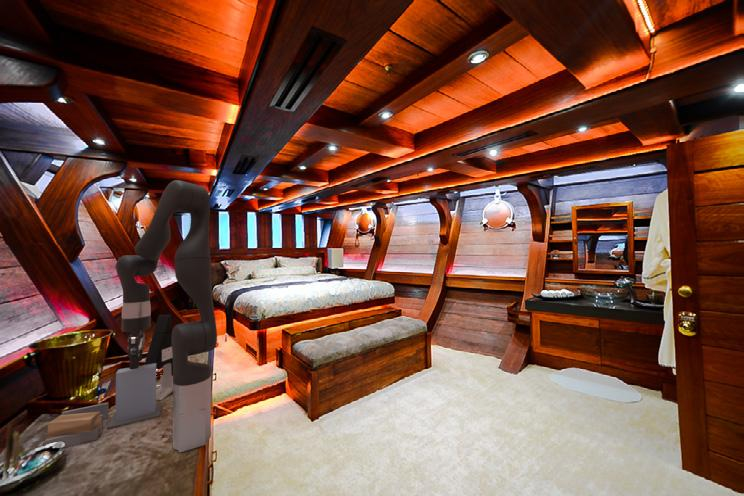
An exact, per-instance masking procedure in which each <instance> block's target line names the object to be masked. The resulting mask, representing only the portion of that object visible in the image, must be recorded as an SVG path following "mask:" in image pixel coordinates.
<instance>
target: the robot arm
mask: <svg viewBox="0 0 744 496" xmlns="http://www.w3.org/2000/svg"><path fill="white" fill-rule="evenodd" d="M210 198H211V197H210V192H209V191H208V189H207V188H206V187H203V186H202V185H197V184H194V183H190V182H188V181H184V180H178V179H175V180H172V181H171V182H170V183H168V185H167V186H166V187H165V188H164V191H163V192H162V195H161V197H160V199H159V200H158V204H157V206H156V208H155V211H154V214H153V216H152V218H151V221H150V223H149V225H148V226H147V228H146V230H145V231H144V233H143V235H142V236H141V237H140V239H139V240H138V241H137V243H136V245H135V247H134V251H135V253H136V255H134V254H132V255H131V254H128V255H122V256H121V257H119V258H118V259H117V261H116V264H115V269H116V273H117V276H118V278H119V282H120V285H121V289H122V308H121V332H122V333H130V335H129V336H128V338H127V345H128V346H127V357H128V358H129V368H130V369H131V370H132V369H137V368H138V367H139V366H140V362H142V361H143V349H144V346H145V336H146V335H145V333H144V332H145V331H147V330H148V329H150V328H151V327H152V326H151V325H152V322H151V320H152V318H151V317H152V316H151V312H152V311H151V310H152V308H151V289H150V288H151V287H150V285H149V284H148V283H144V282H138V281H137V280H136V278H135V277H145V276H150V275H152V274H153V273H154V272H155V271H157V267H158V263H159V260H160V257H161V254H162V253H163V251H164V250H165V249H166V248H167V246H168V244H169V243H170V241H171V238H172V237H171V236H172V234H171V227H170V219H171V217H172V216H173V215H174V213H176V212H180V213H185V214H189V216H190V225H189V230H188V233H187V234H186V236H185V237H184V239H183V240H182V242H181V243H180V244H179V246H178V248H177V250H176V252H175V256H174V273H175V279H176V282H178V284H179V285H180V286H181V288H182V289H183V291H184V292H185V293H186V294H187V295H188V296H189V297H190V298H191V300H192V301H193V302H194V304H195V305H196V308H197V310H198V312H199V313H198V314H199V318H200V320H197V321H195V320H194V321H189V322H188V321H187V322H182V323H178V324H176V325H174V327H172V331H171V332H172V338H171V339H172V356H173V391H172V448H173V449H174V450H176V451H178V453H183V452H187V451H191V450H193V449H196V448H199V447H203V446H206V444H207V442H208V441H209V440H210V439H211V436H212V368H211V366H210V365H209V364H207V363H203V362H194V361H190V360H189V357H190V356H195V355H199V354H204V353H208V352H212V351H213V350H215V349H216V346H217V344H218V329H217V323H216V315H215V308H214V300H213V285H212V282H213V281H212V260H211V249H210V247H211V246H210V217H211V216H210V215H211V214H210V213H211V199H210Z"/></svg>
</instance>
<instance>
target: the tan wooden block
mask: <svg viewBox="0 0 744 496" xmlns="http://www.w3.org/2000/svg"><path fill="white" fill-rule="evenodd" d="M90 412H100V419H101V418H102V430H103V429H104V421H106V420H108V419H109V401H108V402H103V403H98V404H94V405H90V406H85V407H79V408H75V409H70V410H64V411H62V412H61V415H69V414H80V413H90ZM98 439H99V436H98V427H96V428H94V429H93V430H92V431H90V432H83V433H73V434H66V435H62V436H58V437H54V438H50V437H49V438H46V439H45V440H44V446H45V445H46V444H49V443H53V442H58V441H62V442H64V443H65V448H67V447H71V446H72V447H73V446H76V445H79V444H85V443H87V442H91V441H95V440H98Z"/></svg>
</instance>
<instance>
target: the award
mask: <svg viewBox="0 0 744 496" xmlns="http://www.w3.org/2000/svg"><path fill="white" fill-rule="evenodd" d="M172 319H173V318H172V315H171V314H159V315H158V317H157V319H156V323H155V327H154V328H153V329H154V330H153V334H152V337H151V340H150V344H149V348H148V350H147V353H146V357H145V361H144V365H148V364H154V363H156V370H157V369H159V368H161V367H162V373H163V375H160V385H161V386H160V387H158V388H157V389H156V401H157V400H158V401H159V400H160V401H162V400H164V399H165V398H166V397H168V396H169V394H171V393H173V356H172V339H171V338H172V330H173V327H172V325H173V324H172Z"/></svg>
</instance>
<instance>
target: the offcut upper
mask: <svg viewBox="0 0 744 496" xmlns="http://www.w3.org/2000/svg"><path fill="white" fill-rule="evenodd" d="M99 424H100V412H90V413H80V414H69V415H62V414H60V415H59V416H57V417H56V418H54V419H53V420H50V421H49V422H48V423H47V436H48V437H50V436H53V435H63V434H73V433H83V432H90V431H92V430H93V429H94V428H95V427H97V426H98V425H99Z"/></svg>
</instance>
